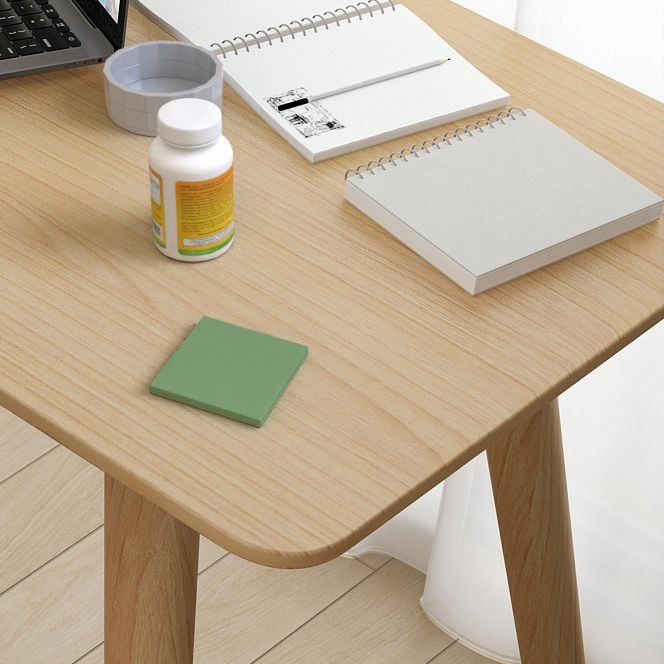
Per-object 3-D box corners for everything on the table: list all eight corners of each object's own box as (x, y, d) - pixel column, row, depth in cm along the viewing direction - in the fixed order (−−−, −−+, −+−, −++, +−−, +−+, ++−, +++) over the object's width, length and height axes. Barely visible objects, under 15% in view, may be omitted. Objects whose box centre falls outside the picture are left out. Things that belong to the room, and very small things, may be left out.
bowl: (85, 120, 92) (81, 79, 90) (142, 71, 98) (139, 31, 96) (190, 148, 90) (189, 106, 87) (241, 95, 96) (241, 55, 94)
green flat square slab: (149, 392, 69) (148, 385, 69) (203, 322, 74) (203, 315, 74) (260, 428, 67) (260, 420, 67) (308, 353, 72) (308, 346, 72)
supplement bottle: (248, 232, 82) (249, 106, 75) (206, 273, 78) (203, 144, 72) (181, 209, 83) (176, 83, 77) (137, 248, 80) (128, 119, 73)
